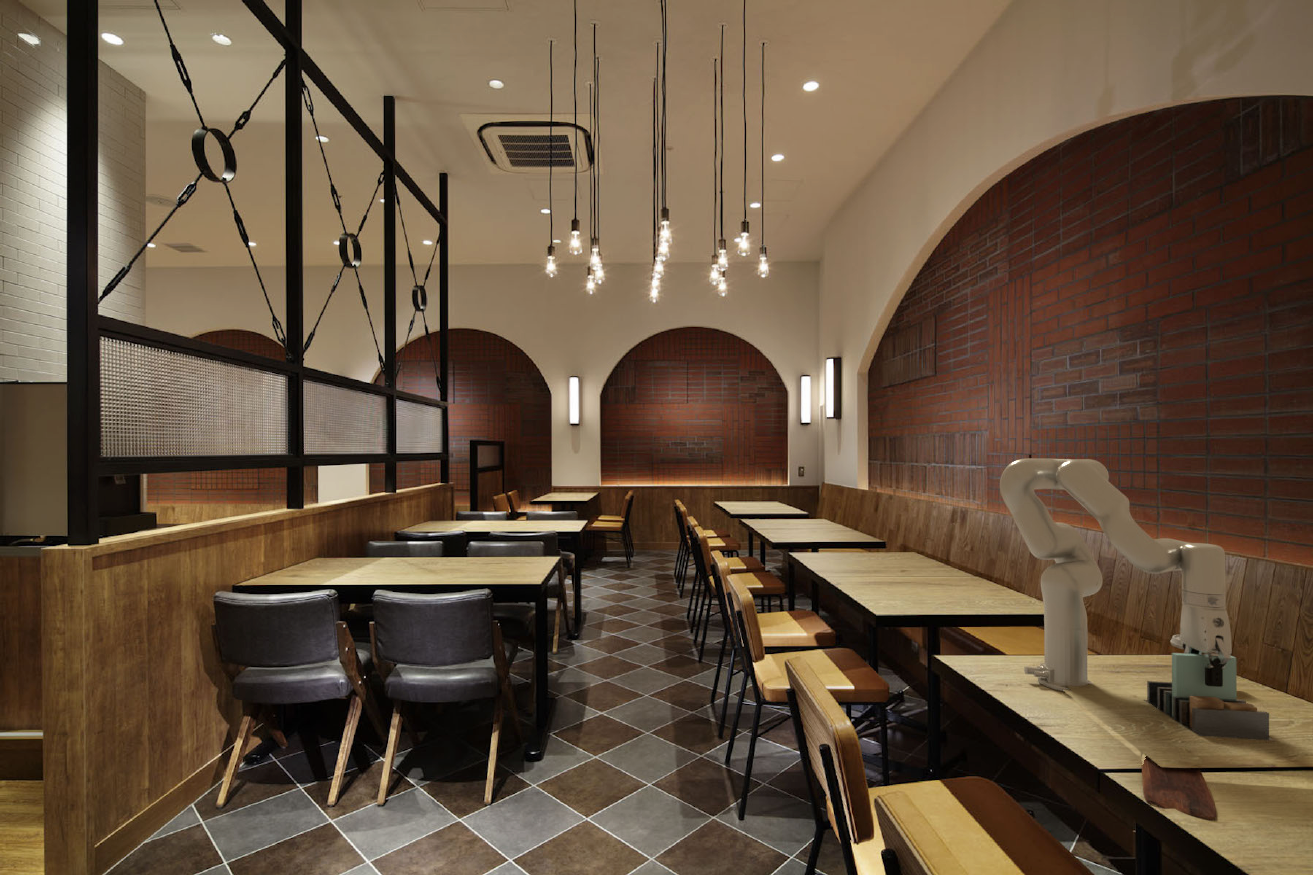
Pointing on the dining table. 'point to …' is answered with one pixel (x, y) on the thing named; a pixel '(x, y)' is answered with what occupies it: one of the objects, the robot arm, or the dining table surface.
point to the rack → (1209, 715)
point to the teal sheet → (1200, 677)
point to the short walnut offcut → (1238, 706)
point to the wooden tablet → (1177, 790)
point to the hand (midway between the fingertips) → (1203, 679)
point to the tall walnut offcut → (1204, 703)
